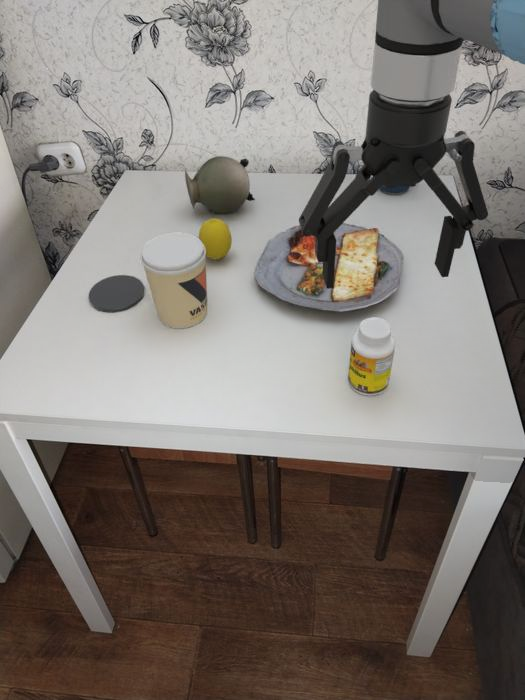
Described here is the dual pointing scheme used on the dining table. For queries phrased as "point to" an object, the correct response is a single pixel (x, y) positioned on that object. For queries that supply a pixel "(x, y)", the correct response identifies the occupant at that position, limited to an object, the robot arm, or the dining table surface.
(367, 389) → the supplement bottle
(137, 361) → the dining table surface
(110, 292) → the slate coaster
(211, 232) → the lemon
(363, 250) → the food plate
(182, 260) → the coffee cup
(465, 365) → the dining table surface
